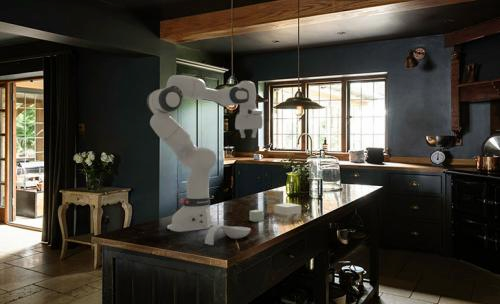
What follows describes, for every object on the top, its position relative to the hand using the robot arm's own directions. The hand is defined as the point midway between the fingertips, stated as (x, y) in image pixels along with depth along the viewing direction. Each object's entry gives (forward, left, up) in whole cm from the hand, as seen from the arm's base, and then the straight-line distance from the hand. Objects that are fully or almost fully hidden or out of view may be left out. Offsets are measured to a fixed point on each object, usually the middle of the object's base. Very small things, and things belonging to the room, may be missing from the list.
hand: (248, 137), depth 222 cm
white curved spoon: (-34, -31, -44) cm, 64 cm away
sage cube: (-1, -7, -44) cm, 44 cm away
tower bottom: (+13, -16, -44) cm, 48 cm away
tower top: (+13, -16, -40) cm, 45 cm away
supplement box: (+19, +1, -44) cm, 48 cm away
